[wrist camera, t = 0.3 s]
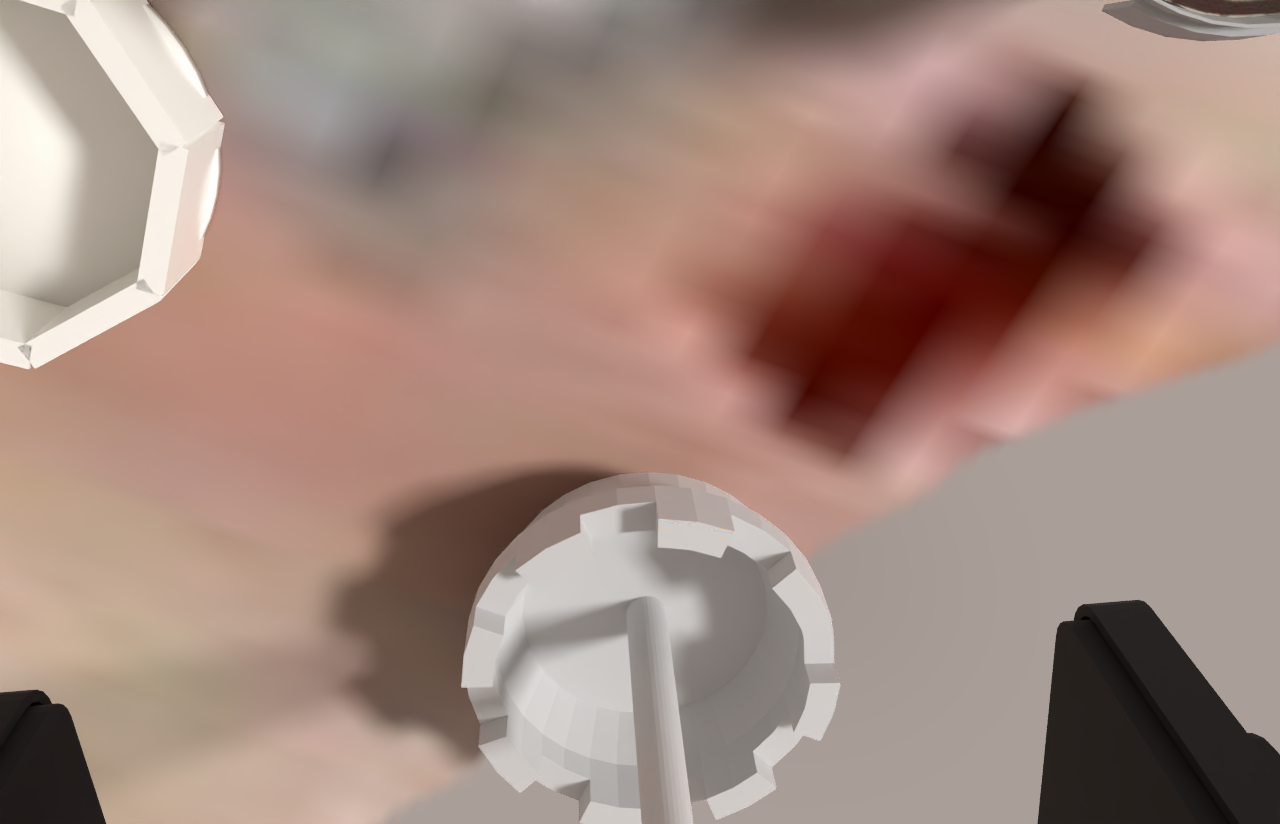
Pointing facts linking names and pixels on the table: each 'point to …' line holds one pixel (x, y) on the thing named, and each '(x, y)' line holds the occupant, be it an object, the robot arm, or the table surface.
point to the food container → (1200, 18)
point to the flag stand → (649, 651)
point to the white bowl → (96, 169)
